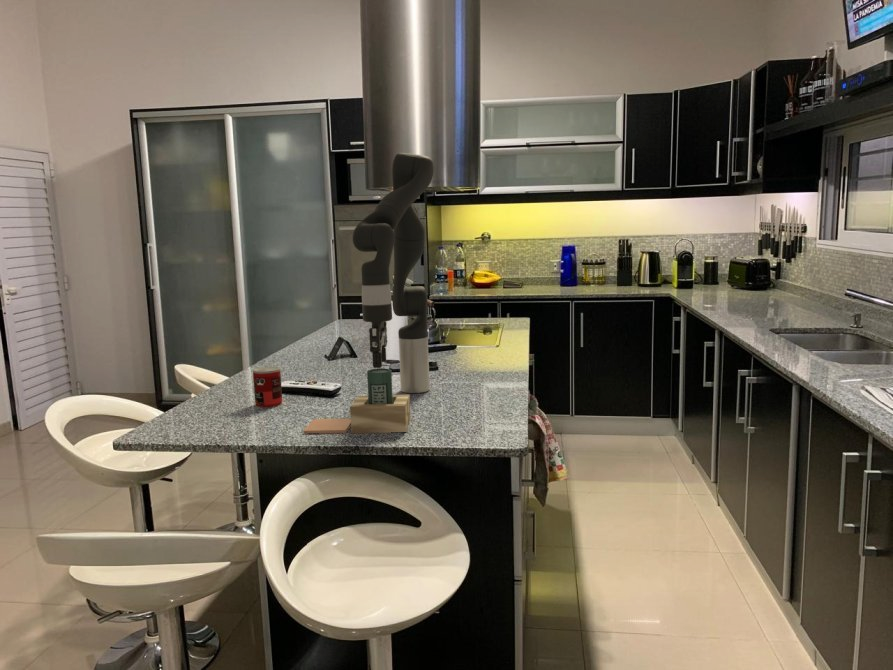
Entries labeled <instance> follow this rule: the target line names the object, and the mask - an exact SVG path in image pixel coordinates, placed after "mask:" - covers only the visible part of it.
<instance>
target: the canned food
mask: <svg viewBox="0 0 893 670" xmlns="http://www.w3.org/2000/svg"><path fill="white" fill-rule="evenodd" d="M252 378H253V390H254V391H253V392H254V403H255V406H256V407H258V408H273V406H275V407H278V406H277V405H279V406H281V405H282V404H283V391H282V389H283V388H282V377H281V368H280V367H279V366H261V367H256V368H254V369H252ZM280 404H281V405H280Z"/></svg>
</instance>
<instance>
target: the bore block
mask: <svg viewBox="0 0 893 670" xmlns="http://www.w3.org/2000/svg"><path fill="white" fill-rule="evenodd" d="M410 397H411V396H410V394H393V404H369V400H368V394H367V395H357V396H356V398H355V400H354V401H353V402H352V403H351V404H350V407H349V411H350V414H349V415H350V419H351V426H350V430H351V431H350V432H351V433H354V434H392V433H391V432H406V433H407V431H408V429H407V428H409V426H410V423H411V420H412V419H411V399H410ZM409 422H410V423H409ZM408 425H409V426H408ZM406 430H407V431H406ZM377 432H378V433H377Z"/></svg>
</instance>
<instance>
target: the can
mask: <svg viewBox="0 0 893 670" xmlns="http://www.w3.org/2000/svg"><path fill="white" fill-rule="evenodd" d="M366 374H367V375H366V377H367V395H368V400H369V404H393V395H394V394H393V375H392V374H393V373H392V369H390V368H385V367H384V368H383V367H381V368H372V369H369V370H366Z"/></svg>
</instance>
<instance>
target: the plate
mask: <svg viewBox="0 0 893 670" xmlns="http://www.w3.org/2000/svg"><path fill="white" fill-rule="evenodd" d="M349 427H350V428H351V418H315V419H314V418H313V419H312V420H311V421H310V423H308V425H307V426H306V427H305V428H304V429H303V434H304V433H319V434H346V433H348V431H349V429H350V428H349ZM347 430H348V431H347Z"/></svg>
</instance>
